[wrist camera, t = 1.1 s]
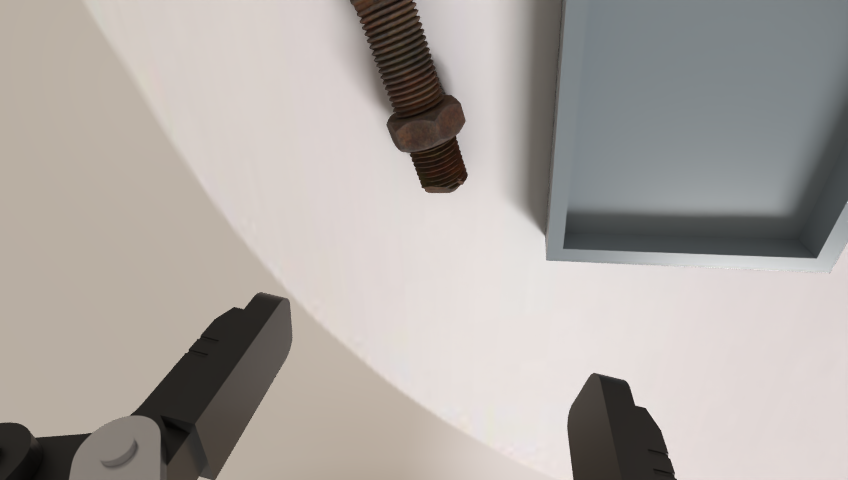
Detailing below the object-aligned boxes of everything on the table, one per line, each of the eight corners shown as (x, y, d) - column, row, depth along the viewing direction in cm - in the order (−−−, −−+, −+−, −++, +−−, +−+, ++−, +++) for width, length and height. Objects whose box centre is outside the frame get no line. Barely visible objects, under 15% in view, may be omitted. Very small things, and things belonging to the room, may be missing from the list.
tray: (1106, -371, 13) (1240, -450, 10) (802, 244, 26) (830, 273, 23) (579, -243, 17) (587, -279, 14) (545, 236, 30) (546, 260, 27)
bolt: (445, 164, 30) (368, -70, 23) (500, 166, 27) (430, -111, 19) (393, 204, 27) (285, -50, 20) (447, 212, 24) (341, -93, 16)
